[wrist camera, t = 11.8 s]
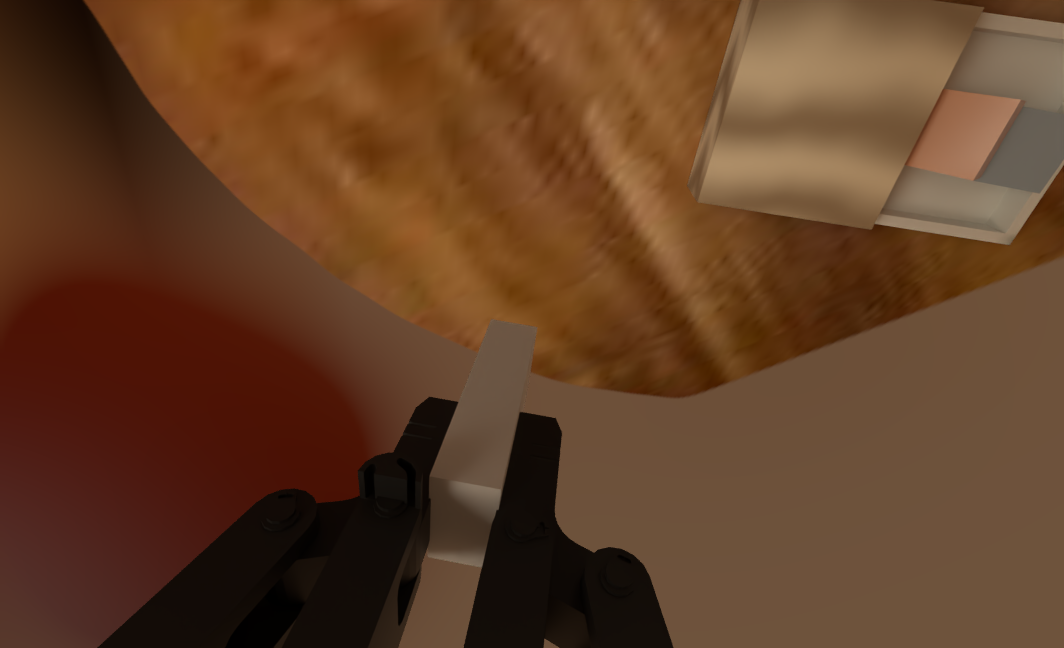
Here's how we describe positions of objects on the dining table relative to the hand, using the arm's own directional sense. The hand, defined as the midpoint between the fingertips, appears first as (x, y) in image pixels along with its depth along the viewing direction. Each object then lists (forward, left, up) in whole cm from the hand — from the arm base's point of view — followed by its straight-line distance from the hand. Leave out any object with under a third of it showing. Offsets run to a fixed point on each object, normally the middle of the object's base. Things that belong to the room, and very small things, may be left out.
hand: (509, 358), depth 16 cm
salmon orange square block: (-7, +28, -27) cm, 39 cm away
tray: (-7, +29, -29) cm, 42 cm away
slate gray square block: (-7, +32, -26) cm, 41 cm away
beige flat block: (-7, +17, -29) cm, 35 cm away
